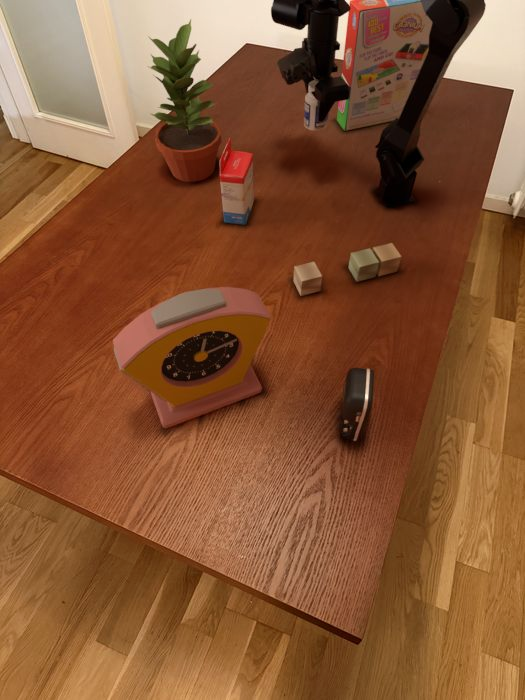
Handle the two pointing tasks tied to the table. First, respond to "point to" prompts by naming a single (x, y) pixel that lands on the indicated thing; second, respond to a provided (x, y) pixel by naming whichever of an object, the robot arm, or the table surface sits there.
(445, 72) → the robot arm
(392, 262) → the block line
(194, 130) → the potted plant
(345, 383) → the battery charger
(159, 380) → the toy desk clock
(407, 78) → the game box
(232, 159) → the ink box
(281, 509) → the table surface
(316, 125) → the pill bottle
